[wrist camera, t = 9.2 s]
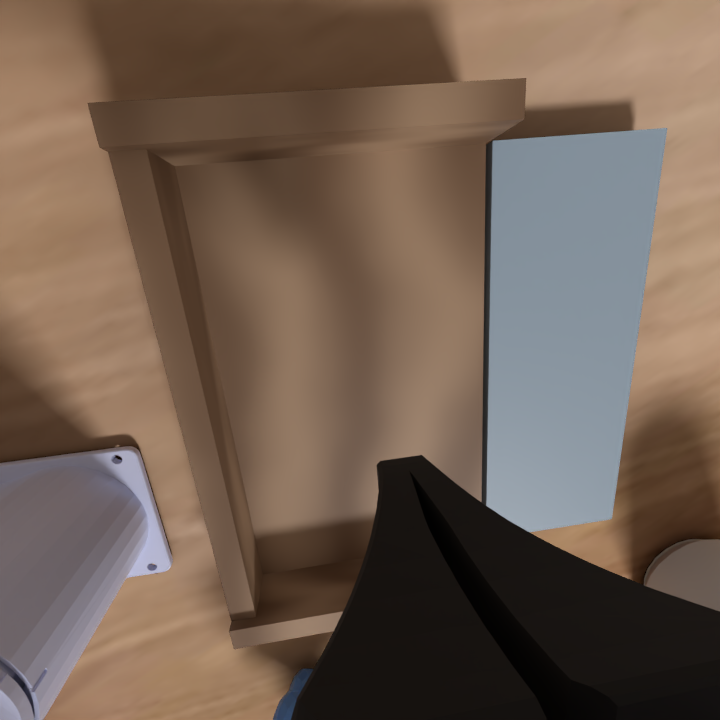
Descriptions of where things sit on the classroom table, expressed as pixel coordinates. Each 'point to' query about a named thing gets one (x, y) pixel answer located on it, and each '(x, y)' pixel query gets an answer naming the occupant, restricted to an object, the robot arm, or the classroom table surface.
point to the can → (688, 572)
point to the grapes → (292, 695)
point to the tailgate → (562, 318)
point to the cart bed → (312, 312)
